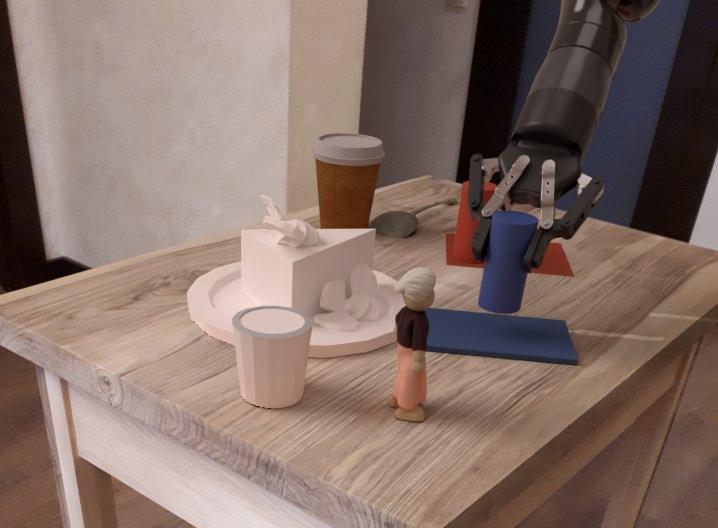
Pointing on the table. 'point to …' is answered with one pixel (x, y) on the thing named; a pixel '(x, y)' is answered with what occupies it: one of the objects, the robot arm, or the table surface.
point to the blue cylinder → (506, 261)
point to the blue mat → (500, 336)
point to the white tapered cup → (272, 354)
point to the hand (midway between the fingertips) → (502, 262)
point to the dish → (303, 285)
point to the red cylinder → (468, 225)
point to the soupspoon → (403, 220)
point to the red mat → (551, 265)
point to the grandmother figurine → (412, 343)
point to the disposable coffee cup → (346, 178)
